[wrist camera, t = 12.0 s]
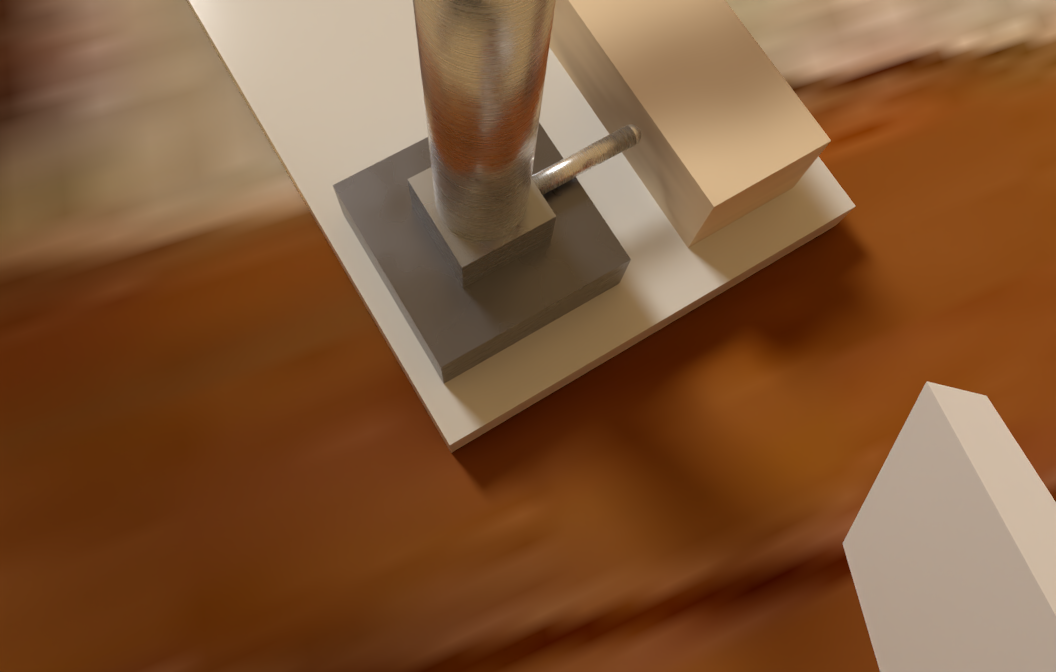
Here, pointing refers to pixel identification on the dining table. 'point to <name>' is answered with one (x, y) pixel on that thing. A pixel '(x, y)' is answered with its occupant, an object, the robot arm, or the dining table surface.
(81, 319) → the dining table surface
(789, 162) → the oak board
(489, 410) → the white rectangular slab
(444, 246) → the surface gauge
